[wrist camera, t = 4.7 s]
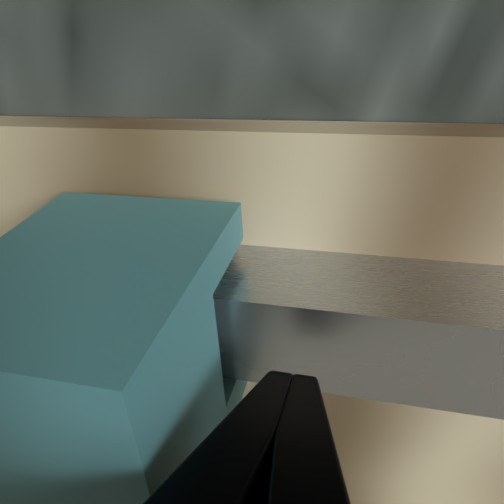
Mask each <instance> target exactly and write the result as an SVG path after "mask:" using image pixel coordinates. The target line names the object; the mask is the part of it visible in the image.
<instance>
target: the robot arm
mask: <svg viewBox="0 0 504 504" xmlns="http://www.w3.org/2000/svg"><path fill="white" fill-rule="evenodd" d="M143 504H351V502H350V499H349V495H348V491H347V487H346V484H345V480H344V476H343V472H342V468H341V465H340V461H339V457H338V453H337V450H336V446H335V442H334V438H333V435H332V431H331V427H330V423H329V420H328V416H327V412H326V408H325V405H324V401H323V397H322V393H321V389H320V386H319V382H318V379H317V378H316V377H314V376H308V375H301V374H294V375H293V374H291V373H287V372H280V371H269V372H268V373H267V374H266V375H265V376H264V377H263V378H262V379H261V380H260V381H259V382H258V383H257V384H256V385H255V386H254V387H253V389H252V390H251V391H250V392H249V393H248V394H247V395H246V396H245V397H244V398H243V399H242V400H241V401H240V402H239V403H238V404H237V405H236V406H235V407H234V408H233V409H232V411H231V412H230V413H229V414H228V415H227V416H226V417H225V418H224V419H223V420H222V421H221V422H220V423H219V424H218V425H217V426H216V427H215V428H214V429H213V430H212V432H211V433H210V434H209V435H208V436H207V437H206V438H205V439H204V440H203V441H202V442H201V443H200V444H199V445H198V446H197V447H196V448H195V449H194V450H193V451H192V453H191V454H190V455H189V456H188V457H187V458H186V459H185V460H184V461H183V462H182V463H181V464H180V465H179V466H178V467H177V468H176V469H175V470H174V471H173V472H172V474H171V475H170V476H169V477H168V478H167V479H166V480H165V481H164V482H163V483H162V484H161V485H160V486H159V487H158V488H157V489H156V490H155V491H154V492H153V493H152V494H151V496H150V497H149V498H148V499H147V500H146V501H145V502H144V503H143Z"/></svg>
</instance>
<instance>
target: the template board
mask: <svg viewBox="0 0 504 504" xmlns="http://www.w3.org/2000/svg"><path fill="white" fill-rule="evenodd" d="M63 192H69V193H86V194H103V195H120V196H137V197H154V198H171V199H188V200H205V201H222V202H239V203H241V212H242V226H243V240H242V241H241V243H240V244H241V245H253V246H266V247H278V248H290V249H303V250H315V251H328V252H340V253H353V254H365V255H377V256H390V257H402V258H415V259H427V260H439V261H452V262H464V263H477V264H489V265H501V266H504V124H475V123H414V122H352V121H290V120H228V119H166V118H105V117H43V116H0V237H1V236H3V235H4V234H6V233H7V232H8V231H10V230H11V229H13V228H14V227H15V226H17V225H18V224H20V223H21V222H22V221H24V220H25V219H27V218H28V217H30V216H31V215H32V214H34V213H35V212H37V211H38V210H39V209H41V208H42V207H44V206H45V205H46V204H48V203H49V202H51V201H52V200H53V199H55V198H56V197H58V196H59V195H61V194H62V193H63ZM256 384H257V383H256V382H250V381H248V382H247V384H246V387H245V390H244V393H243V396H242V399H243V398H244V397H245V396H246V395H247V394H248V393H249V392H250V391H251V390H252V389H253V387H254V386H255V385H256ZM321 393H322V397H323V401H324V405H325V408H326V412H327V416H328V420H329V423H330V427H331V431H332V435H333V438H334V442H335V446H336V450H337V453H338V457H339V461H340V465H341V468H342V472H343V476H344V480H345V484H346V487H347V491H348V495H349V499H350V502H351V504H504V420H502V419H495V418H489V417H482V416H475V415H469V414H462V413H455V412H449V411H442V410H436V409H429V408H422V407H416V406H409V405H402V404H396V403H389V402H382V401H376V400H369V399H362V398H356V397H349V396H343V395H336V394H329V393H323V392H321ZM242 399H241V400H242Z"/></svg>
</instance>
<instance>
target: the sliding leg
mask: <svg viewBox="0 0 504 504" xmlns="http://www.w3.org/2000/svg"><path fill="white" fill-rule="evenodd" d="M242 240H243V226H242V212H241V203H239V202H222V201H205V200H188V199H171V198H154V197H137V196H120V195H103V194H86V193H69V192H63V193H62V194H61V195H59V196H58V197H56V198H55V199H53V200H52V201H51V202H49V203H48V204H46V205H45V206H44V207H42V208H41V209H39V210H38V211H37V212H35V213H34V214H32V215H31V216H30V217H28V218H27V219H25V220H24V221H22V222H21V223H20V224H18V225H17V226H15V227H14V228H13V229H11V230H10V231H8V232H7V233H6V234H4V235H3V236H1V237H0V504H143V503H144V502H145V501H146V500H147V499H148V498H149V497H150V496H151V494H152V493H153V492H154V491H155V490H156V489H157V488H158V487H159V486H160V485H161V484H162V483H163V482H164V481H165V480H166V479H167V478H168V477H169V476H170V475H171V474H172V472H173V471H174V470H175V469H176V468H177V467H178V466H179V465H180V464H181V463H182V462H183V461H184V460H185V459H186V458H187V457H188V456H189V455H190V454H191V453H192V451H193V450H194V449H195V448H196V447H197V446H198V445H199V444H200V443H201V442H202V441H203V440H204V439H205V438H206V437H207V436H208V435H209V434H210V433H211V432H212V430H213V429H214V428H215V427H216V426H217V425H218V424H219V423H220V422H221V421H222V420H223V419H224V418H225V417H226V416H227V415H228V414H229V413H230V412H231V411H232V409H233V408H234V407H235V406H236V405H237V404H238V403H239V402H240V401H241V399H242V396H243V393H244V390H245V387H246V384H247V382H248V381H243V380H236V379H230V378H223V376H222V367H221V359H220V350H219V342H218V333H217V325H216V316H215V308H214V299H213V293H214V291H215V290H216V288H217V286H218V284H219V282H220V280H221V278H222V277H223V275H224V273H225V271H226V269H227V267H228V266H229V264H230V262H231V260H232V258H233V256H234V254H235V253H236V251H237V249H238V247H239V245H240V243H241V241H242Z"/></svg>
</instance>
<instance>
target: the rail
mask: <svg viewBox="0 0 504 504" xmlns="http://www.w3.org/2000/svg"><path fill="white" fill-rule="evenodd" d="M213 299H214V308H215V316H216V325H217V333H218V342H219V350H220V359H221V367H222V376H223V378H230V379H236V380H243V381H250V382H256V383H258V382H259V381H260V380H261V379H262V378H263V377H264V376H265V375H266V374H267V373H268V372H269V371H280V372H287V373H291V374H293V375H294V374H301V375H308V376H314V377H316V378H317V379H318V382H319V386H320V389H321V392H323V393H329V394H336V395H343V396H349V397H356V398H362V399H369V400H376V401H382V402H389V403H396V404H402V405H409V406H416V407H422V408H429V409H436V410H442V411H449V412H455V413H462V414H469V415H475V416H482V417H489V418H495V419H502V420H504V266H501V265H489V264H477V263H464V262H452V261H439V260H427V259H415V258H402V257H390V256H377V255H365V254H353V253H340V252H328V251H315V250H303V249H290V248H278V247H266V246H253V245H241V244H240V245H239V247H238V249H237V251H236V253H235V254H234V256H233V258H232V260H231V262H230V264H229V266H228V267H227V269H226V271H225V273H224V275H223V277H222V278H221V280H220V282H219V284H218V286H217V288H216V290H215V291H214V293H213Z"/></svg>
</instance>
